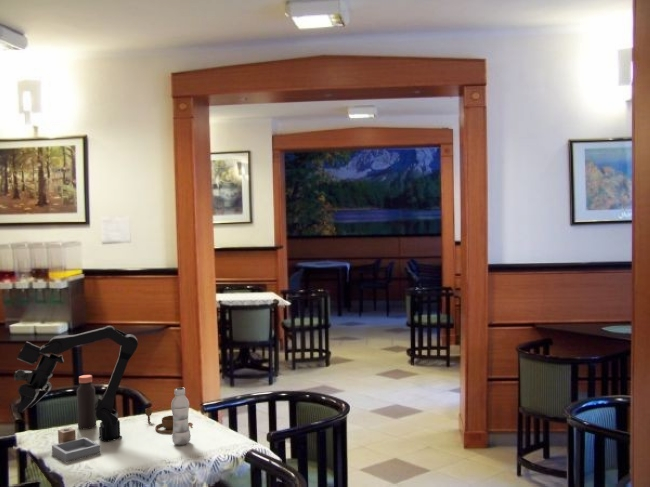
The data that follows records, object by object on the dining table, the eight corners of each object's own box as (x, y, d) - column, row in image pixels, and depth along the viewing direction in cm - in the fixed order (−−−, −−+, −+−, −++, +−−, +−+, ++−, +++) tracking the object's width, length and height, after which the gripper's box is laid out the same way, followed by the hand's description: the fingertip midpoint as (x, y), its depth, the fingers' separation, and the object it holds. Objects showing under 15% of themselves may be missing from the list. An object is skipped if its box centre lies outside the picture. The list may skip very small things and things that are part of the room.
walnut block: (70, 443, 250) (70, 426, 249) (76, 446, 246) (75, 429, 246) (58, 446, 247) (57, 429, 246) (63, 449, 243) (62, 432, 243)
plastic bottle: (194, 442, 248) (192, 387, 247) (183, 448, 242) (181, 392, 241) (179, 440, 251) (178, 385, 250) (168, 445, 245) (166, 390, 244)
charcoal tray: (85, 445, 247) (85, 437, 247) (100, 453, 238) (100, 445, 238) (52, 453, 239) (51, 445, 239) (66, 462, 230) (65, 453, 230)
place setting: (149, 438, 256) (148, 422, 255) (143, 423, 274) (143, 408, 274) (196, 432, 262) (195, 416, 262) (187, 417, 281) (187, 403, 280)
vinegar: (89, 423, 274) (87, 373, 273) (100, 425, 270) (98, 375, 269) (74, 427, 268) (72, 377, 267) (85, 430, 264) (83, 379, 264)
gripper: (32, 357, 256) (13, 396, 254) (14, 363, 237) (-7, 404, 236) (60, 370, 256) (41, 408, 255) (44, 376, 238) (23, 418, 236)
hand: (24, 409), depth 246 cm, fingers open, 9 cm apart
